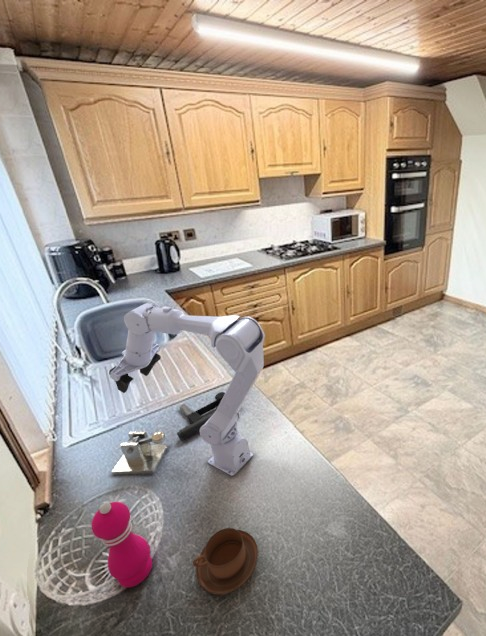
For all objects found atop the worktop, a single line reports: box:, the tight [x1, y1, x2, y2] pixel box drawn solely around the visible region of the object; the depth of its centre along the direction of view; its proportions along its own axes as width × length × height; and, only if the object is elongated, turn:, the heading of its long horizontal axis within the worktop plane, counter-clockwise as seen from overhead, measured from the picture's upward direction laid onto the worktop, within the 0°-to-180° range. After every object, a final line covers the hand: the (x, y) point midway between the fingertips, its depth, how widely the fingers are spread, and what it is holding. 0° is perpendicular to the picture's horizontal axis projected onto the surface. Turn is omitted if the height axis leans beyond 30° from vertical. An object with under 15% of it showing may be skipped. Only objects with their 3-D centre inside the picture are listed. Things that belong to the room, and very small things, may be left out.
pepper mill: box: [91, 501, 153, 589], centre depth 66 cm, size 7×7×20 cm
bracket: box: [111, 430, 169, 475], centre depth 94 cm, size 11×9×8 cm
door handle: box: [176, 391, 226, 441], centre depth 111 cm, size 3×20×16 cm
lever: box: [126, 430, 166, 447], centre depth 92 cm, size 10×3×3 cm, turn 89°
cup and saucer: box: [192, 527, 259, 595], centre depth 69 cm, size 12×12×6 cm
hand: (133, 381), depth 93 cm, fingers open, 7 cm apart
